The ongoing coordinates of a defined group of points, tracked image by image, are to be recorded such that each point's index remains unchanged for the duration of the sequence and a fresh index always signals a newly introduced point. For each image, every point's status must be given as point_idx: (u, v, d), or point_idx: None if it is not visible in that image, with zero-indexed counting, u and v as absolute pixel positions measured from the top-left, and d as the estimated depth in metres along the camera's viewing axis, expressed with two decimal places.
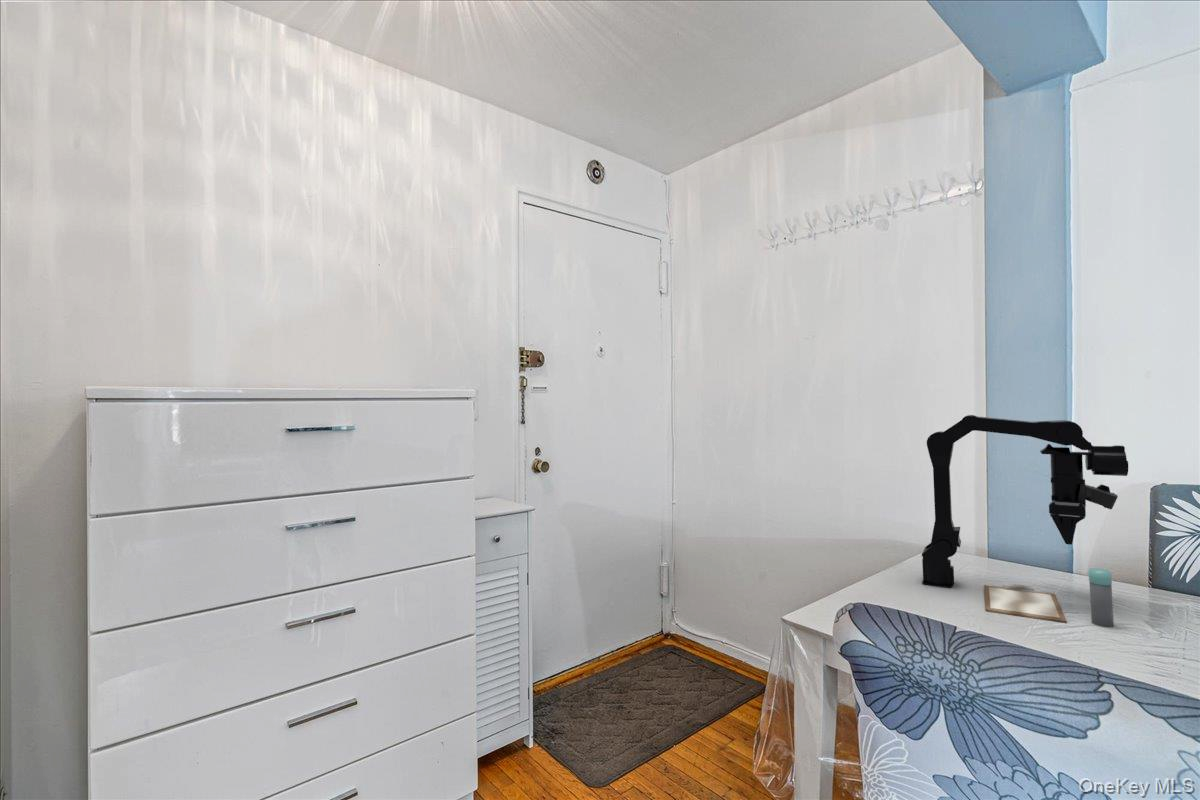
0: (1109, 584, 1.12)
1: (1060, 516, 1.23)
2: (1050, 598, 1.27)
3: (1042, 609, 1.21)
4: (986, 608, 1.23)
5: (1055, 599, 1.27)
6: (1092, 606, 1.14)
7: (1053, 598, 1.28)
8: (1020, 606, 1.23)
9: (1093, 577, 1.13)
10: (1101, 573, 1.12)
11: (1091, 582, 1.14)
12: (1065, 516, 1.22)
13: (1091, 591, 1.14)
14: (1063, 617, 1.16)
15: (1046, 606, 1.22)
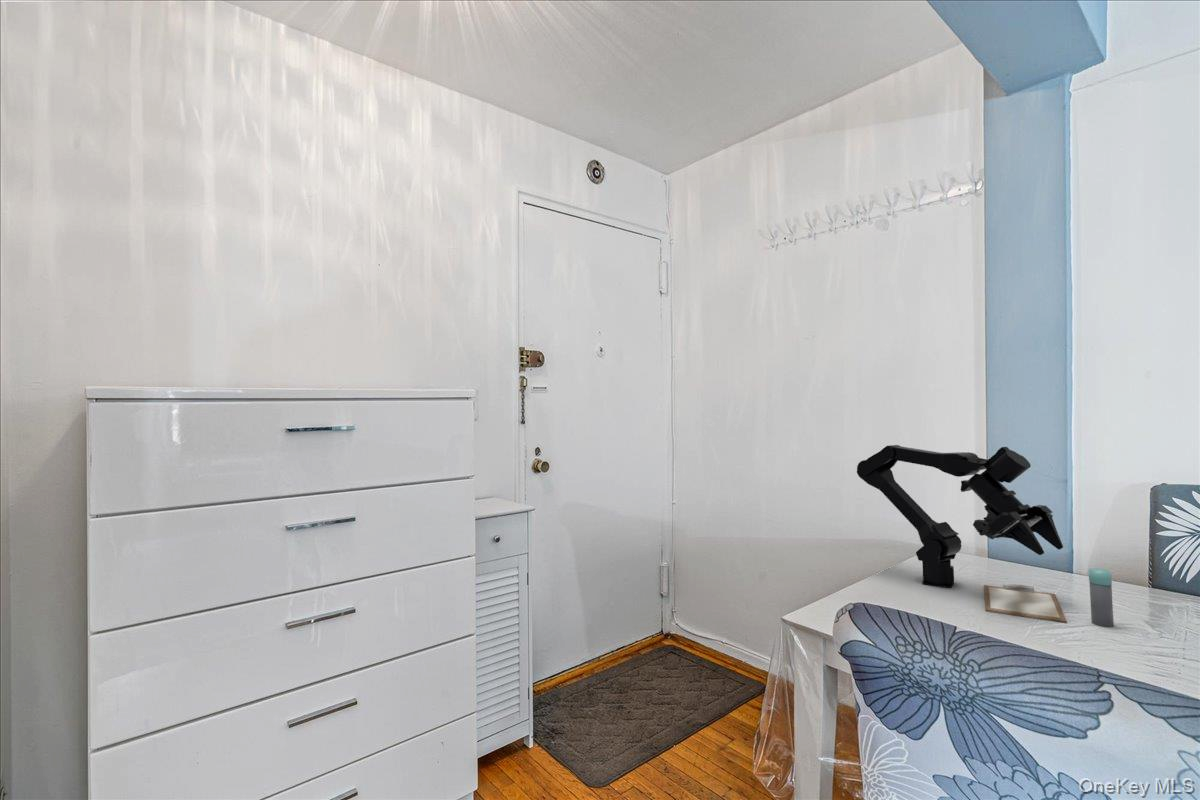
0: (1109, 584, 1.12)
1: None
2: (1050, 598, 1.27)
3: (1042, 609, 1.21)
4: (986, 608, 1.23)
5: (1055, 599, 1.27)
6: (1092, 606, 1.14)
7: (1053, 598, 1.28)
8: (1020, 606, 1.23)
9: (1093, 577, 1.13)
10: (1101, 573, 1.12)
11: (1091, 582, 1.14)
12: None
13: (1091, 591, 1.14)
14: (1063, 617, 1.16)
15: (1046, 606, 1.22)
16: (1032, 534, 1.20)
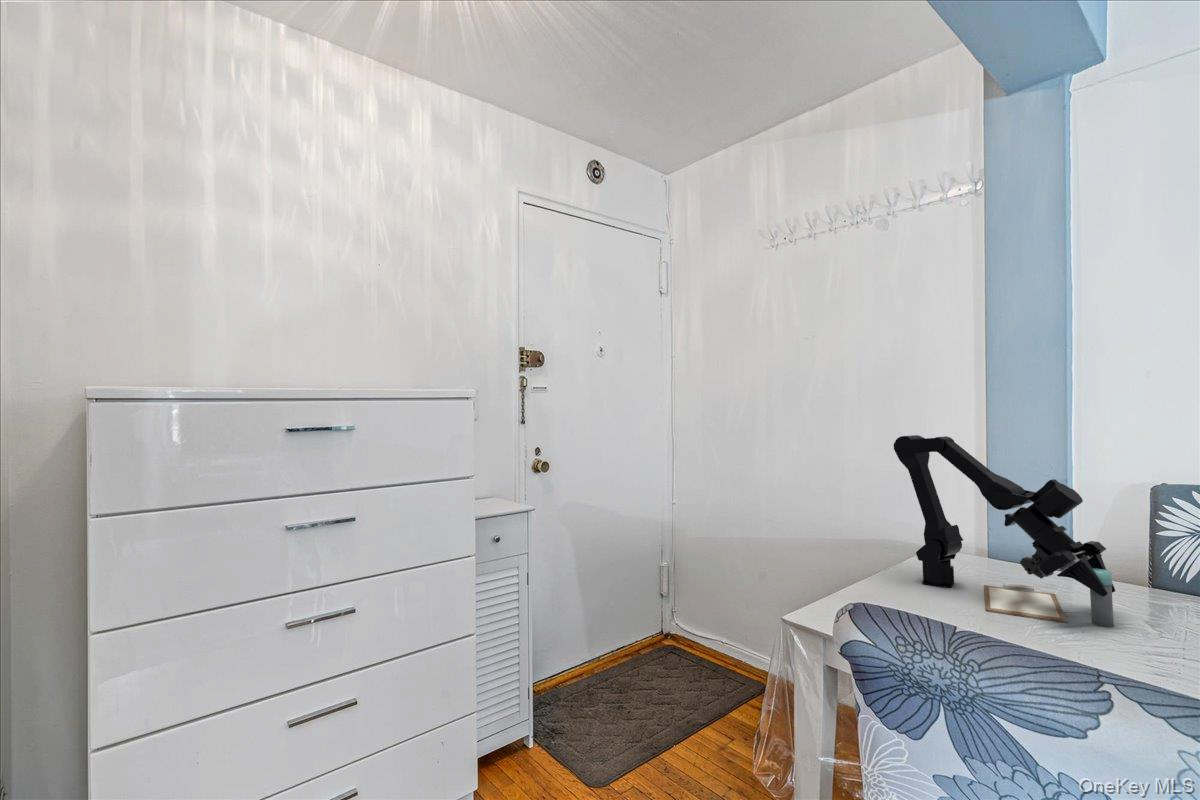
0: (1109, 584, 1.12)
1: None
2: (1050, 598, 1.27)
3: (1042, 609, 1.21)
4: (986, 608, 1.23)
5: (1055, 599, 1.27)
6: (1092, 606, 1.14)
7: (1053, 598, 1.28)
8: (1020, 606, 1.23)
9: None
10: (1101, 573, 1.12)
11: None
12: None
13: (1091, 591, 1.14)
14: (1063, 617, 1.16)
15: (1046, 606, 1.22)
16: (1094, 574, 1.12)
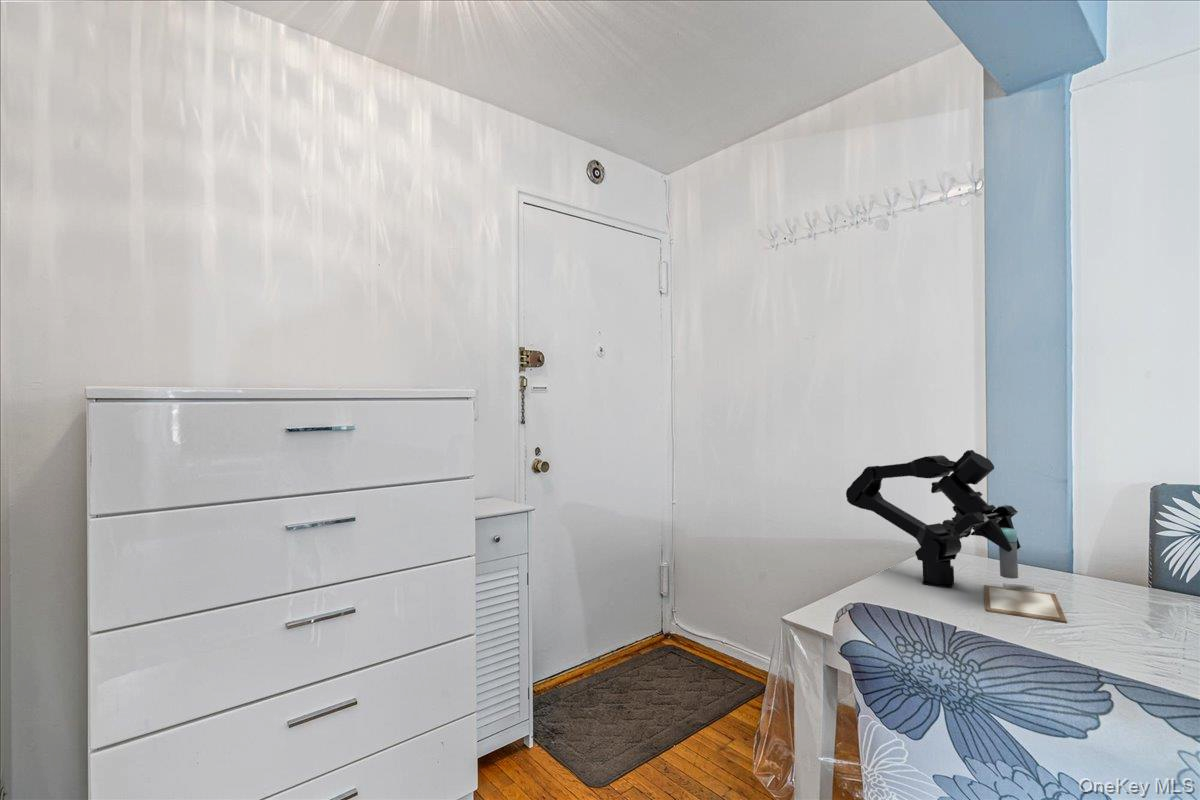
0: (1014, 541, 1.26)
1: None
2: (1050, 598, 1.27)
3: (1042, 609, 1.21)
4: (986, 608, 1.23)
5: (1055, 599, 1.27)
6: (1000, 561, 1.28)
7: (1053, 598, 1.28)
8: (1020, 606, 1.23)
9: None
10: (1007, 531, 1.27)
11: None
12: None
13: (999, 547, 1.28)
14: (1063, 617, 1.16)
15: (1046, 606, 1.22)
16: (1001, 532, 1.27)
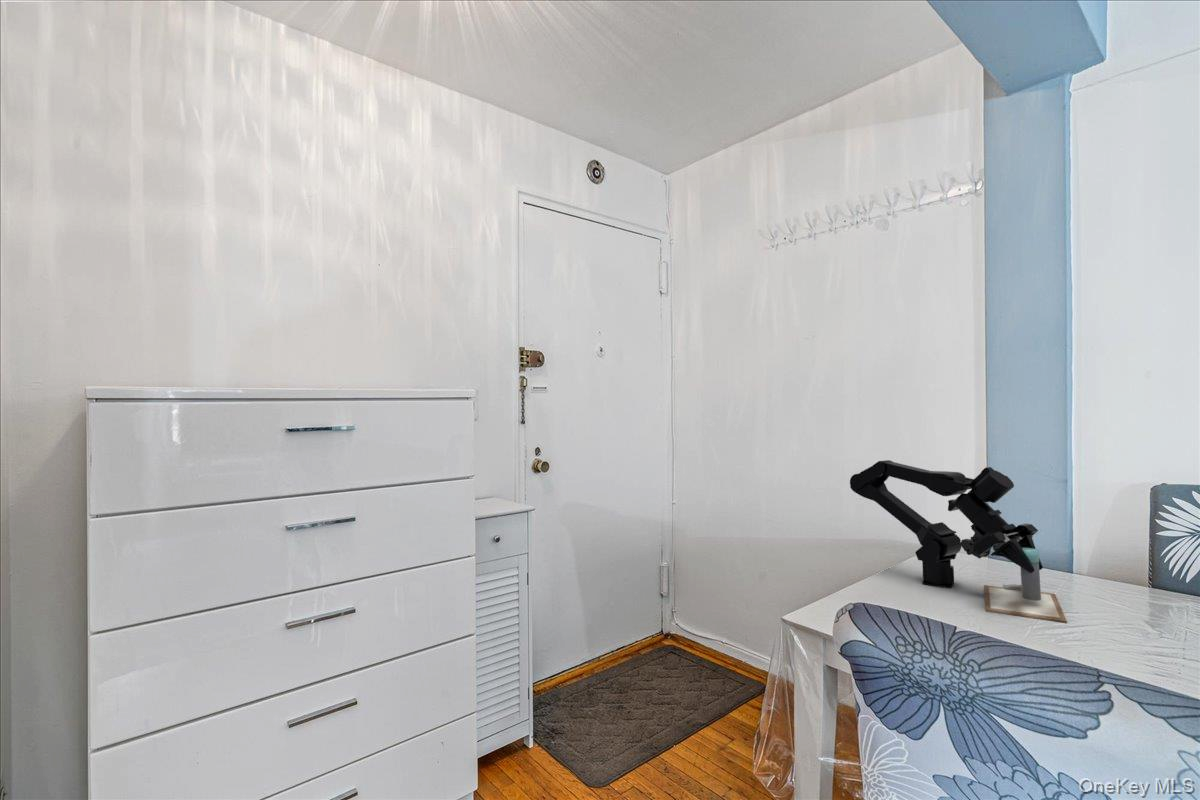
0: (1036, 561, 1.23)
1: None
2: (1050, 598, 1.27)
3: (1042, 609, 1.21)
4: (986, 608, 1.23)
5: (1055, 599, 1.27)
6: (1022, 582, 1.24)
7: (1053, 598, 1.28)
8: (1020, 606, 1.23)
9: None
10: (1029, 551, 1.23)
11: None
12: None
13: (1021, 568, 1.25)
14: (1063, 617, 1.16)
15: (1046, 606, 1.22)
16: (1022, 552, 1.23)
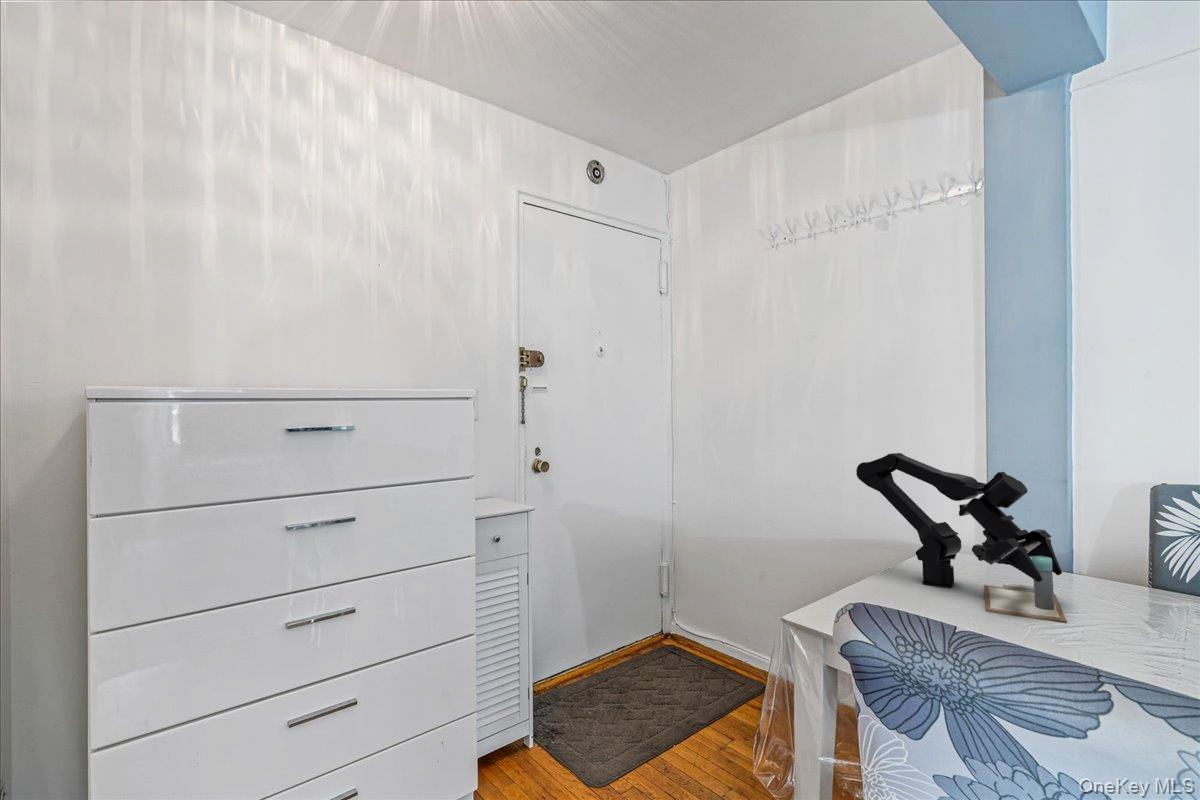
0: (1050, 570, 1.21)
1: None
2: None
3: (1042, 609, 1.21)
4: (986, 608, 1.23)
5: (1055, 599, 1.27)
6: (1035, 591, 1.22)
7: None
8: (1020, 606, 1.23)
9: (1035, 564, 1.22)
10: (1042, 560, 1.21)
11: None
12: None
13: None
14: (1063, 617, 1.16)
15: None
16: (1030, 561, 1.20)
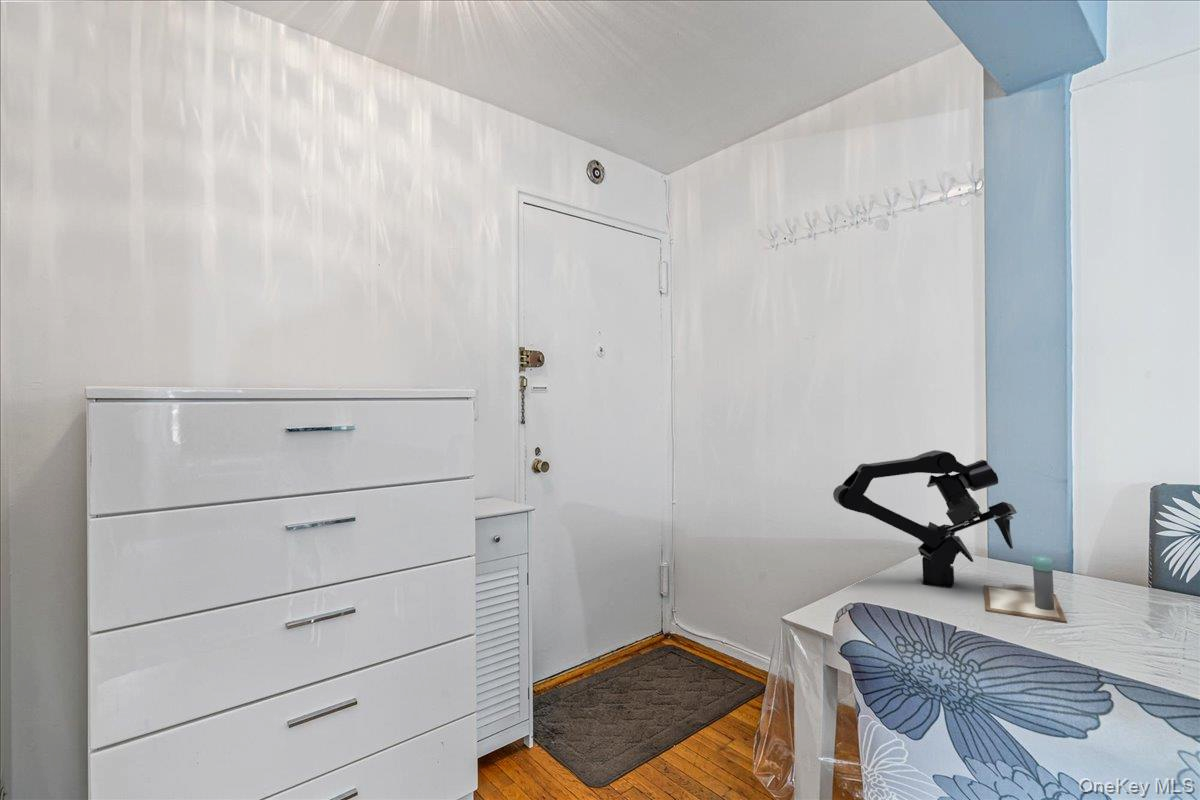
0: (1050, 570, 1.20)
1: None
2: None
3: (1042, 609, 1.21)
4: (986, 608, 1.23)
5: (1055, 599, 1.27)
6: (1035, 591, 1.22)
7: None
8: (1020, 606, 1.23)
9: (1036, 564, 1.22)
10: (1043, 560, 1.21)
11: (1034, 568, 1.22)
12: None
13: (1034, 577, 1.22)
14: (1063, 617, 1.16)
15: None
16: None
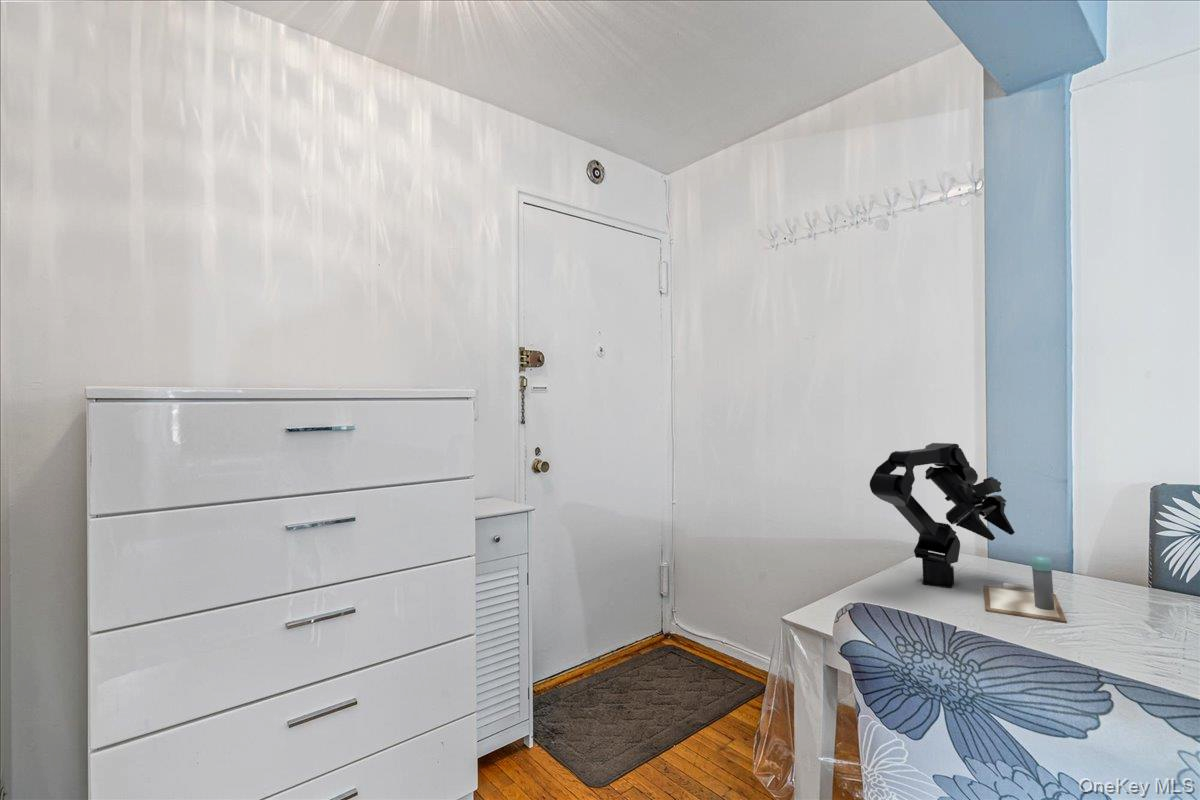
0: (1049, 570, 1.20)
1: (960, 521, 1.36)
2: None
3: (1042, 609, 1.21)
4: (986, 608, 1.23)
5: (1055, 599, 1.27)
6: (1034, 591, 1.22)
7: None
8: (1020, 606, 1.23)
9: (1034, 564, 1.22)
10: (1041, 560, 1.21)
11: (1033, 568, 1.22)
12: (962, 519, 1.35)
13: (1033, 577, 1.23)
14: (1063, 617, 1.16)
15: None
16: None
